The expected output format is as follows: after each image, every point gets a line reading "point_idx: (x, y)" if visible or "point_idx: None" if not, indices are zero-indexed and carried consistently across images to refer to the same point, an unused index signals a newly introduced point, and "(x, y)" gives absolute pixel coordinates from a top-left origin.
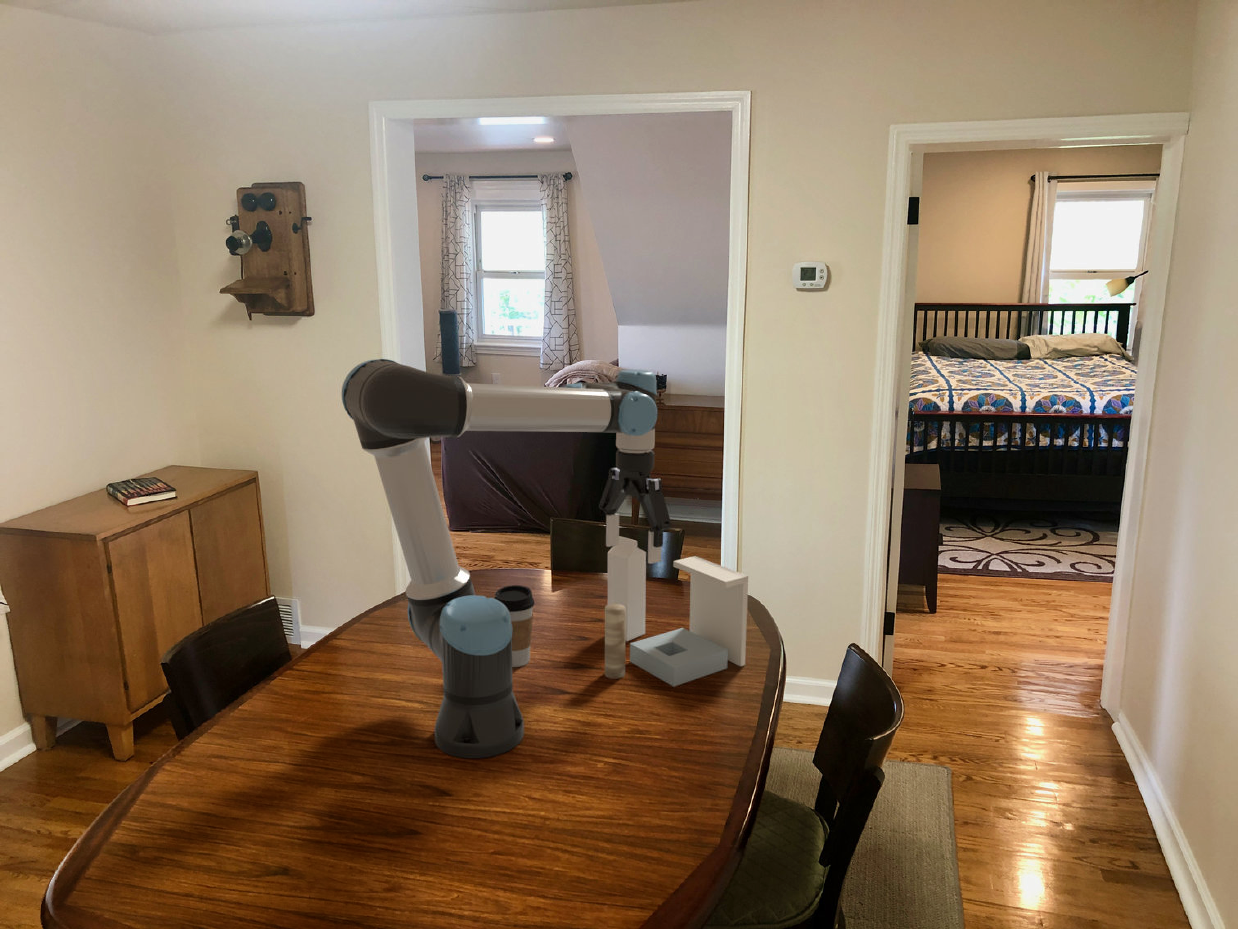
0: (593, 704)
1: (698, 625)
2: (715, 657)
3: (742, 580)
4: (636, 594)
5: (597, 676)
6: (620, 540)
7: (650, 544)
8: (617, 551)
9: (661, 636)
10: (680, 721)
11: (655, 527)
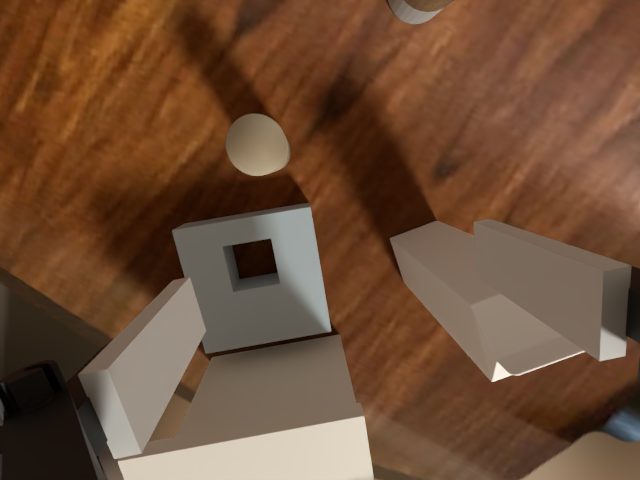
0: (174, 56)
1: (318, 359)
2: None
3: None
4: (428, 291)
5: (278, 118)
6: None
7: (133, 322)
8: None
9: (312, 277)
10: (60, 170)
11: (6, 418)
